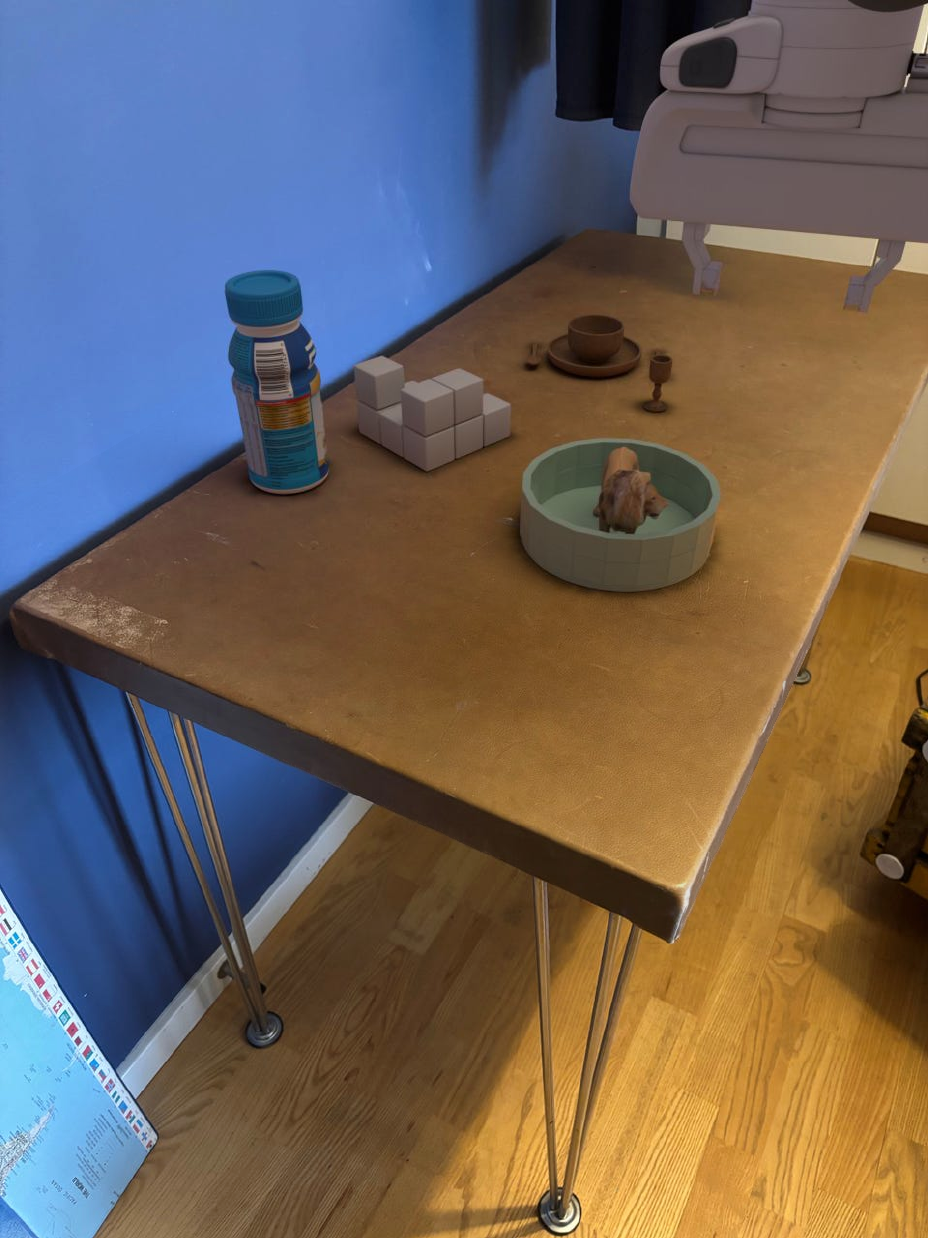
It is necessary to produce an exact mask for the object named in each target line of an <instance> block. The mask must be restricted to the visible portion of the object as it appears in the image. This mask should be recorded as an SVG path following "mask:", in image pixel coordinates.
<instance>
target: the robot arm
mask: <svg viewBox="0 0 928 1238" xmlns="http://www.w3.org/2000/svg"><path fill="white" fill-rule="evenodd" d="M927 4H928V0H751V6H750V10H749V11H748V14H747V15H746V16H744V17H743V16H742V17H740V18H737V19H735V17H730V18H728V19H724V20H722V21H719V22H717V23H715V24H714V25H713V26H712V27H710V28H707V29H704V30H701V31H697V32H694V33H691V34H689V35H686V36H684V37H682V38H680V39H678V40H677V41H674V42H673V43H672V44H671V45H669V46H668V48H666V49H665V51H664V52H663V54H662V56H661V60H660V68H659V78H660V83H661V85H662V86H663V87H664V88H665V89H666V90H665V91H664V92H662V93H661V94H660V95H659V96H657V97H656V98H655V99H654V100H653V101H652V103H651V104H650V105H649V107H648V109H647V111H646V113H645V115H644V118H643V120H642V123H641V127H640V131H639V135H638V139H637V145H636V149H635V152H634V153H635V154H634V159H633V165H632V172H631V179H630V187H629V202H630V205H631V206H632V208H633V209H634V211H635V213H636V214H637V216H638V217H639V218H641V219H645V220H647V219H648V220H659V221H668V222H669V221H670V222H682V223H683V225H682V233H681V241H682V244H683V246H684V248H685V251H686V254H687V256H688V258H689V260H690V263H691V265H692V267H693V268H694V275H693V276H694V277H693V283H692V294H693V295H699V296H700V295H701V296H702V295H703V296H714V297H715V296H716V294H717V293H718V291H719V288H720V284H721V277H720V276H721V274H722V272H723V264H724V262H723V261H717V260H716V261H714V260H711V257H710V255H709V251H708V249H707V246H706V244H705V243H706V242H705V238H706V236H707V235H708V234H709V232H710V231H711V226H712V225H716V226H726V227H738V228H748V229H758V230H760V229H761V230H771V231H782V232H793V233H805V234H815V235H827V236H839V237H848V238H849V237H851V238H861V239H871V240H872V239H873V240H879V243H878V249H877V253H876V257H877V258H878V259H879V260H878V261H877V262H876V263H875V264H874V265H873V266H872V267H871V269H870V270H869V271H868V272H867V273H866V274H865V276H863V275H851V276H850V280H849V283H848V287H847V292H846V295H845V299H844V303H843V308H842V311H843V312H851V313H860V314H868V311H869V307H870V305H871V300H872V295H873V292H874V289H875V287H877V286H878V285H880V284H881V283H882V281H883V280H884V279H885V278H886V277H887V276H888V275H889V274H890V273H891V271H892V270H893V269H894V268H895V267H896V266H897V265H898V264H899V263H900V262H901V260H902V256H903V253H904V250H905V246H906V242H907V243H916V244H917V243H918V244H928V53H927V52H920V53H919V52H914V47H915V44H916V40H917V36H918V33H919V27H920V24H921V20H922V16H923V11H924V7H925V5H927ZM906 80H907V82H906ZM905 85H906V86H905Z"/></svg>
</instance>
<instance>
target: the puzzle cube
mask: <svg viewBox="0 0 928 1238" xmlns="http://www.w3.org/2000/svg"><path fill="white" fill-rule="evenodd" d="M353 372H354V373H353V376H354V385H355V397H356V399H357V400H356V408H357V420H358V431H359V433H360V434H362V435H363V436H365V437H367V438H368V439H370V440H372V441H374V442H376V444H379V445H381V446H382V447H384V448H385V449H387V450H389V451H390V452H392V453H394V454H396V455H398V456H399V457H401V458H404V459H405V460H406V461H408V462H409V463H411V464H413V465H414V466H416V467H418V468H420V469H421V470H423V471H424V472H430V471H432V470H434V469H437V468H440V467H442V466H444V465H446V464H448V463H451V462H453V461H455V459H456V460H458V459H460V458H463V457H464V456H467V455H469V454H472V453H474V452H477V451H479V450H481V449H483V447H485V448H486V447H488V446H490V445H492V444H494V443H497V442H499V441H502V440H504V439H506V438H508V437H510V436H511V420H512V419H511V418H512V417H511V416H512V413H511V411H512V404H511V403H510V402H507V401H505V400H503V399H501V398H499V397H497V396H495V395H494V394H493V395H492V394H491V393H488V392H486V393H484V379H483V378H481V377H479V376H477V375H475V374H473V373H471V372H468V371H467V370H464V369H462V368H460V367H459V368H456V369H453V370H451V371H448V372H445V373H442V374H439V375H437V376H434V377H431V379H430V378H428V379H426V380H422V381H420V382H417V381H415V380H410V381H407V382H405V367H404V366H403V364H400V363H398V362H396V361H394V360H392V359H390V358H388V357H385V356H384V355H380V356H376V357H374V358H371V359H367V360H365V361H362V362H359V363H356V364H354V365H353Z"/></svg>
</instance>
